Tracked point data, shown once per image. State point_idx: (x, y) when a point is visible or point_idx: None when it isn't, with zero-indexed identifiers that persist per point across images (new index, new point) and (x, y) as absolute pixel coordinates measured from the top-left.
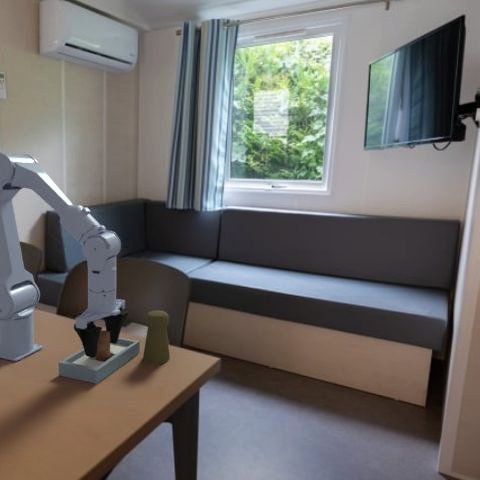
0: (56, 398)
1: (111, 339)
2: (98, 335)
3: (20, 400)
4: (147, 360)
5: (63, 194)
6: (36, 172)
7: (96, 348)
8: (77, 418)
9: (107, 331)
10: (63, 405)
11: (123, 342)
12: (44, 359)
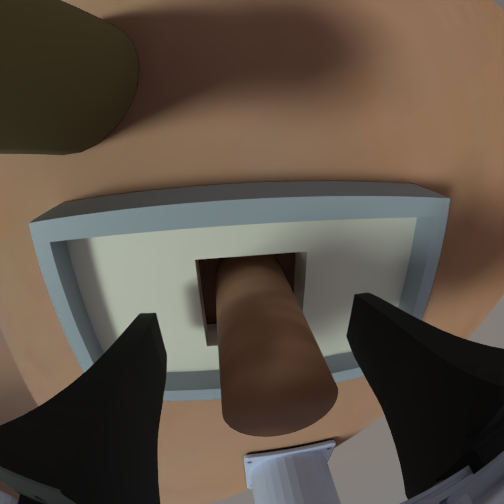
0: (481, 240)
1: (159, 352)
2: (456, 359)
3: (482, 302)
4: (131, 83)
5: None
6: None
7: (390, 313)
8: None
9: (237, 406)
10: (498, 201)
11: (78, 304)
12: None
